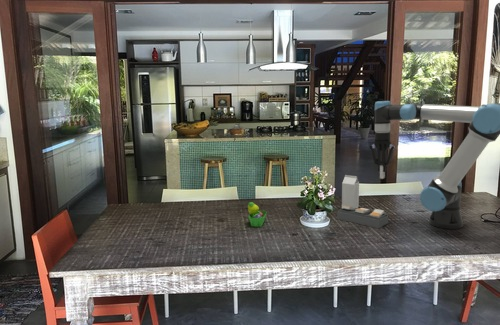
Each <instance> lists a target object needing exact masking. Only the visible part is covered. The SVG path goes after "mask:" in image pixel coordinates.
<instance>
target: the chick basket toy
mask: <svg viewBox="0 0 500 325" xmlns="http://www.w3.org/2000/svg"><path fill="white" fill-rule="evenodd" d="M247 208H248V213H249V215H248V219H249V222H250V226H251V227H258V228H259V227H260V228H261V227H262V226H263V224H264V222H265V219H266V216H267V211H266V210H259V209H260V207H259V206H258V205H257V204H255V203H254V202H252V201H251V202H248V205H247Z"/></svg>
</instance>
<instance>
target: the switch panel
mask: <svg viewBox="0 0 500 325" xmlns="http://www.w3.org/2000/svg"><path fill="white" fill-rule="evenodd" d="M356 209H359V207H358V208H355V209H354V210H350V209H345V208H343V209H342V208H340V209H338V211H337V213H336V214H337V216H336V217H337V218H336V219H337V220H339V221H340V220H341V221H346V222H348V223H353V224H358V225H363V226H367V227H371V228H375V229H380V228H382V227H384V226H386V225H387V224H389V215H388V214H387V213H383V214H382V215H381V216H380V217H379V218H378V217H373V216H370V214H371V213H372V212H373V211H374V210H373V211H371V210H369V212H366V213H359V212H355V210H356Z"/></svg>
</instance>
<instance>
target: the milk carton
mask: <svg viewBox="0 0 500 325" xmlns="http://www.w3.org/2000/svg"><path fill="white" fill-rule="evenodd" d="M341 185H342V186H341V209H343V208H342V206H343V205H344V206H350V207H355V208H358V209H359V205H360V204H359V200H360V198H359V197H360V181H359V179H358V176H356V175H347V174H345V175H344V178H343V181H342V183H341Z"/></svg>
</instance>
